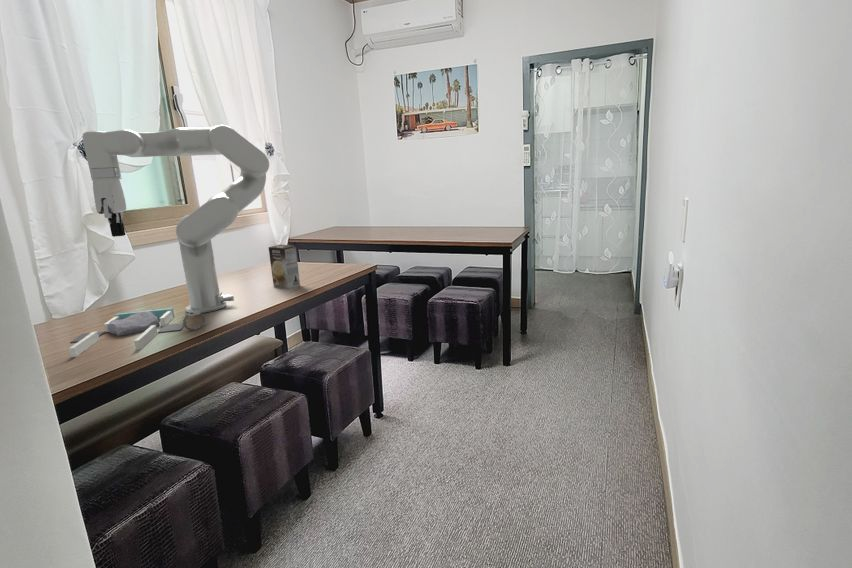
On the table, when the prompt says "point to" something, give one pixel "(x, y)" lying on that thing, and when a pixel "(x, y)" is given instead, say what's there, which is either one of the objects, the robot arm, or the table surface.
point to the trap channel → (165, 317)
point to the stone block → (133, 323)
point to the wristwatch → (191, 316)
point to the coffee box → (284, 266)
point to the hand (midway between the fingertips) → (118, 235)
